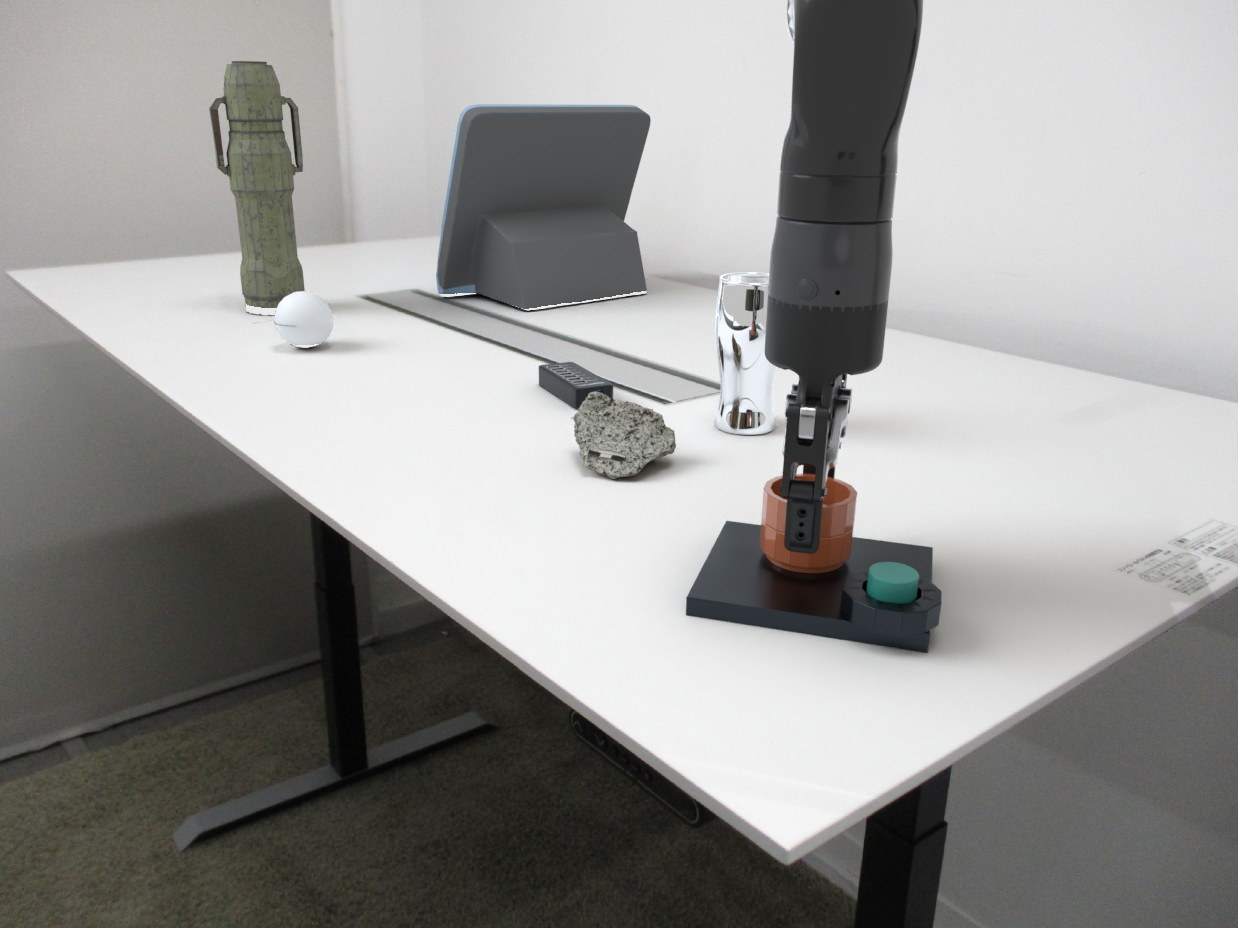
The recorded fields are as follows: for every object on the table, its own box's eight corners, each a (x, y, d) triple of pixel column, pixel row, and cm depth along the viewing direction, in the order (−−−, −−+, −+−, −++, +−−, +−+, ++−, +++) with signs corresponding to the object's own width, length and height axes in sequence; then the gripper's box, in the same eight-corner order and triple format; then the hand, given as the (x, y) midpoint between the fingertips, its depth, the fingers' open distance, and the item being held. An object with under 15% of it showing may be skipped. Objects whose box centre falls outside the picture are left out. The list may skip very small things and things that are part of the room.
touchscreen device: (599, 274, 185) (603, 101, 174) (670, 294, 171) (680, 108, 160) (431, 296, 164) (424, 100, 153) (497, 320, 150) (495, 107, 139)
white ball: (333, 339, 135) (328, 285, 133) (338, 352, 129) (333, 295, 126) (254, 344, 132) (248, 288, 129) (256, 358, 125) (249, 299, 123)
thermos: (228, 308, 153) (197, 61, 141) (306, 301, 159) (283, 63, 147) (241, 319, 146) (210, 60, 134) (322, 311, 152) (299, 62, 140)
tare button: (917, 587, 63) (919, 565, 63) (915, 609, 61) (918, 586, 60) (868, 580, 64) (870, 558, 64) (864, 601, 61) (867, 578, 61)
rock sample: (555, 442, 84) (598, 360, 88) (542, 472, 92) (582, 395, 95) (665, 497, 85) (703, 414, 88) (643, 523, 92) (680, 445, 95)
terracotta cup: (853, 544, 72) (860, 479, 70) (846, 581, 67) (853, 512, 65) (767, 533, 74) (771, 469, 72) (752, 568, 68) (757, 500, 67)
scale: (937, 565, 72) (942, 527, 71) (935, 663, 60) (941, 618, 59) (725, 537, 76) (727, 500, 75) (681, 623, 64) (683, 580, 63)
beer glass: (783, 437, 99) (795, 285, 94) (712, 436, 99) (720, 283, 94) (774, 416, 105) (785, 272, 100) (708, 415, 105) (715, 271, 100)
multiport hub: (572, 380, 118) (572, 361, 117) (614, 405, 108) (614, 384, 108) (537, 384, 116) (537, 365, 115) (577, 410, 106) (577, 389, 106)
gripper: (882, 316, 56) (856, 577, 62) (894, 276, 69) (871, 495, 75) (749, 308, 58) (735, 561, 64) (784, 270, 71) (770, 483, 77)
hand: (809, 525), depth 69 cm, fingers open, 8 cm apart
